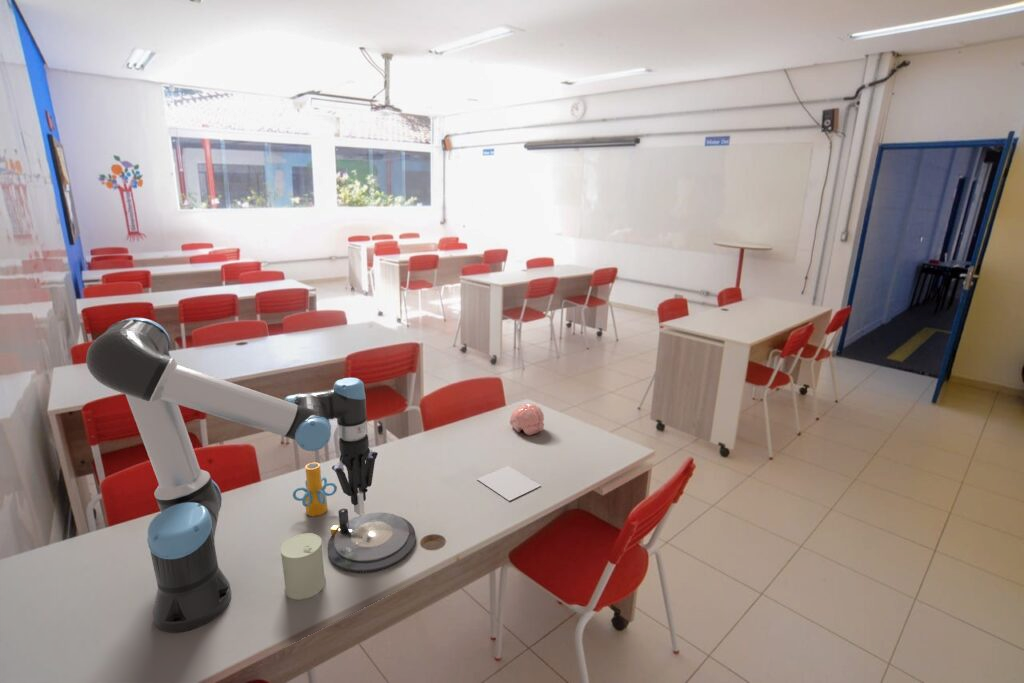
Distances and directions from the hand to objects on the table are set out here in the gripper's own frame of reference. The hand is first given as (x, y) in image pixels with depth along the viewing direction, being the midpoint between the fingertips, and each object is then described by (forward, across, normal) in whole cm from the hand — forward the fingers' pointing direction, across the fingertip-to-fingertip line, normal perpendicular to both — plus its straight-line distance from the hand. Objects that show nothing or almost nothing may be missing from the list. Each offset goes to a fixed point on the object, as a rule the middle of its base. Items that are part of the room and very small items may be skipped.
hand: (359, 512), depth 143 cm
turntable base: (+6, -1, -7) cm, 9 cm away
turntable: (+5, -1, -7) cm, 8 cm away
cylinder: (+6, -3, +18) cm, 20 cm away
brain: (+7, +83, +7) cm, 84 cm away
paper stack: (+7, +43, -9) cm, 45 cm away
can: (+6, -21, -8) cm, 23 cm away
